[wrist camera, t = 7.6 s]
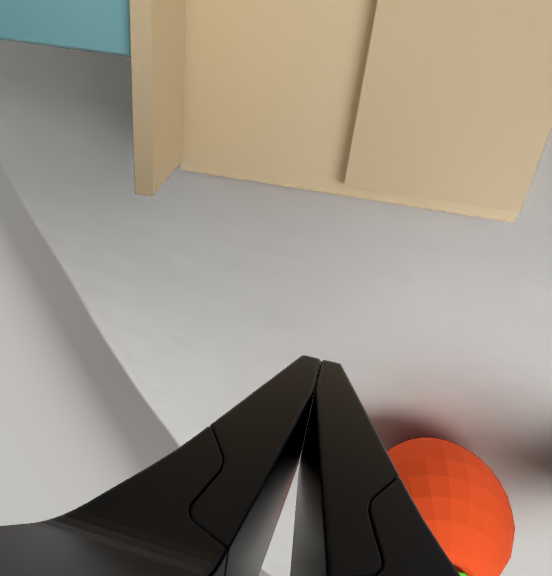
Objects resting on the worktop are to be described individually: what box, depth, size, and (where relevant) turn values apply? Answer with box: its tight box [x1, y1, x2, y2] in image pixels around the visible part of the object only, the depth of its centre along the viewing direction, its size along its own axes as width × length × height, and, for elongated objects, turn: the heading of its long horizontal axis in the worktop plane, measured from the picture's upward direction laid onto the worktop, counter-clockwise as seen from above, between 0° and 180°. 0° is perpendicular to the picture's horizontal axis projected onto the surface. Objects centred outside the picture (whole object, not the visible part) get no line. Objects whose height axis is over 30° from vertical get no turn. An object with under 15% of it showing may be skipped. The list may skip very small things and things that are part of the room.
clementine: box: [387, 437, 515, 576], centre depth 21 cm, size 8×7×7 cm
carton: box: [180, 0, 552, 223], centre depth 15 cm, size 14×13×2 cm
